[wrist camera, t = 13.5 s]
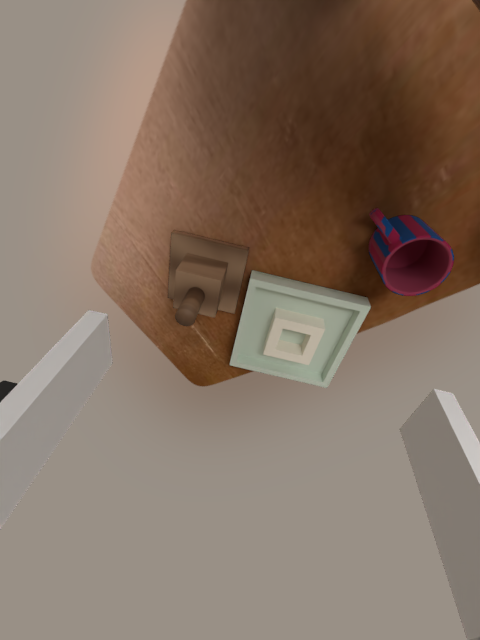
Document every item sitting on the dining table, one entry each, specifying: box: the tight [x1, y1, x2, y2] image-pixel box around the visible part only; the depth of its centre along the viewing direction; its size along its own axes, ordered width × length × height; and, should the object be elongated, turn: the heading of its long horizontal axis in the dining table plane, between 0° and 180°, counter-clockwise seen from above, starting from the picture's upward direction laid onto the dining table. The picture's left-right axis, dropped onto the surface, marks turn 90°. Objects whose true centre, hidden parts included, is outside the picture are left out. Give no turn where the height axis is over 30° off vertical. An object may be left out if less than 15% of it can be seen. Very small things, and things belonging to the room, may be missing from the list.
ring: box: [263, 308, 325, 365], centre depth 45 cm, size 7×7×2 cm
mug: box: [369, 208, 454, 296], centre depth 34 cm, size 7×10×7 cm
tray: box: [229, 270, 371, 388], centre depth 45 cm, size 16×16×2 cm
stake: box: [168, 230, 249, 326], centre depth 38 cm, size 10×10×11 cm
